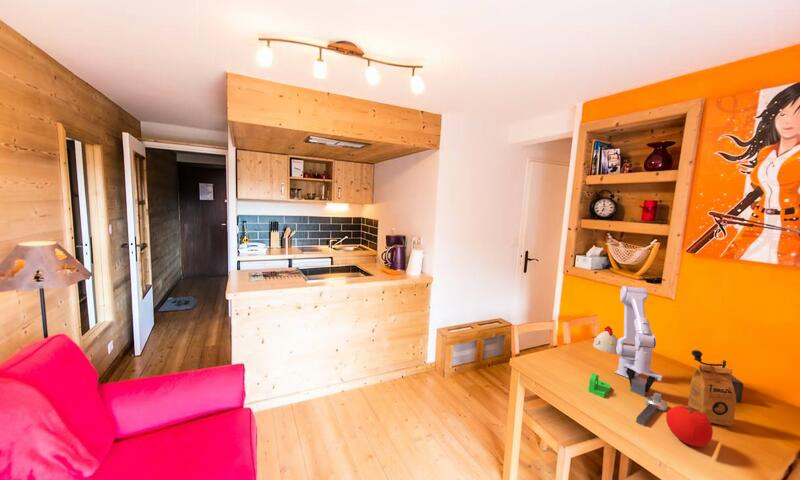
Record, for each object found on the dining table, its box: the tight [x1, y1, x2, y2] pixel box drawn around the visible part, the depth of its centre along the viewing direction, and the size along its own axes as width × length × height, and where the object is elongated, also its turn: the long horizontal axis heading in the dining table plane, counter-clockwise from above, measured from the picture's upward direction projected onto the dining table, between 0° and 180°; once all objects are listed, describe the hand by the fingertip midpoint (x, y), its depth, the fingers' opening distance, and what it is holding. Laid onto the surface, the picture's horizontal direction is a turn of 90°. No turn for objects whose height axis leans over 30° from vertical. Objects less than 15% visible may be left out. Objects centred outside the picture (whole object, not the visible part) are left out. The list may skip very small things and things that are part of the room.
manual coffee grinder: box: [691, 349, 744, 404], centre depth 147 cm, size 16×11×18 cm
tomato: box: [665, 404, 714, 448], centre depth 114 cm, size 12×12×13 cm
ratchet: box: [635, 392, 668, 426], centre depth 130 cm, size 24×7×5 cm, turn 128°
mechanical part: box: [588, 373, 611, 398], centre depth 146 cm, size 12×6×8 cm, turn 132°
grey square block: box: [629, 375, 648, 398], centre depth 146 cm, size 5×5×6 cm
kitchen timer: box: [592, 325, 619, 355], centre depth 190 cm, size 14×14×15 cm
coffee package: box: [687, 364, 737, 427], centre depth 127 cm, size 10×12×22 cm
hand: (639, 388), depth 146 cm, fingers closed on grey square block, 5 cm apart
